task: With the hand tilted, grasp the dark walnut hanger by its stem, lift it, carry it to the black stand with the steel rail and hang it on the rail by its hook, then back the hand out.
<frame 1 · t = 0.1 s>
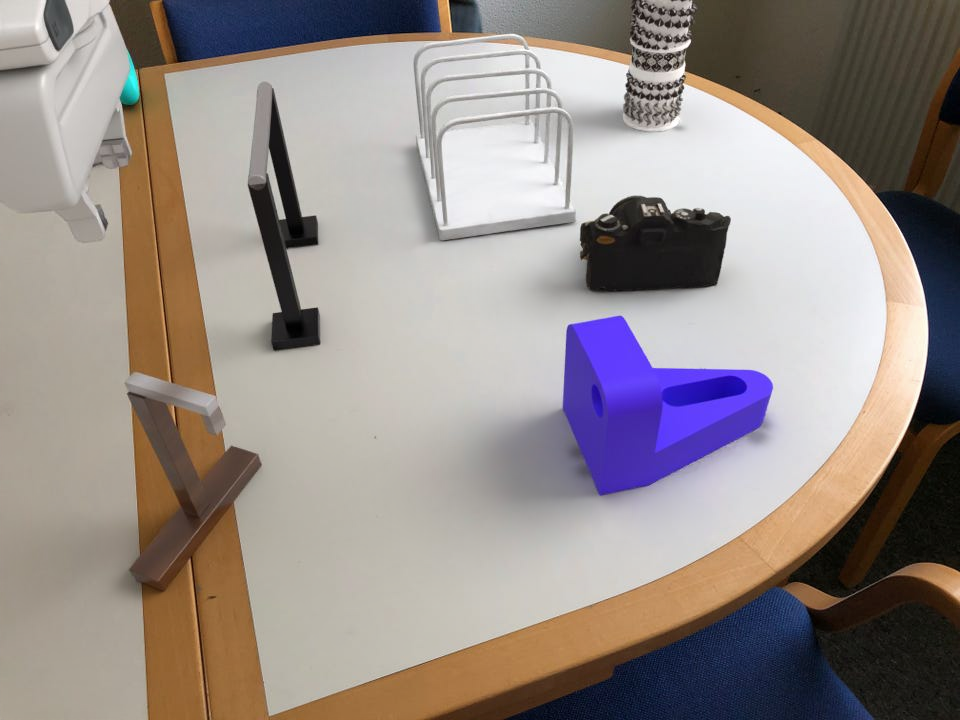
hand: (107, 197, 54), 29 cm above the table, tool pointing down, fingers open, 8 cm apart
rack: (297, 280, 93), on the table
film camera: (641, 269, 93), on the table
file sorter: (490, 183, 108), on the table
decorative candle: (651, 119, 120), on the table
bracket: (671, 432, 74), on the table
vintage mobile phone: (96, 158, 118), on the table
donuts: (110, 106, 131), on the table
hanger: (202, 519, 69), on the table
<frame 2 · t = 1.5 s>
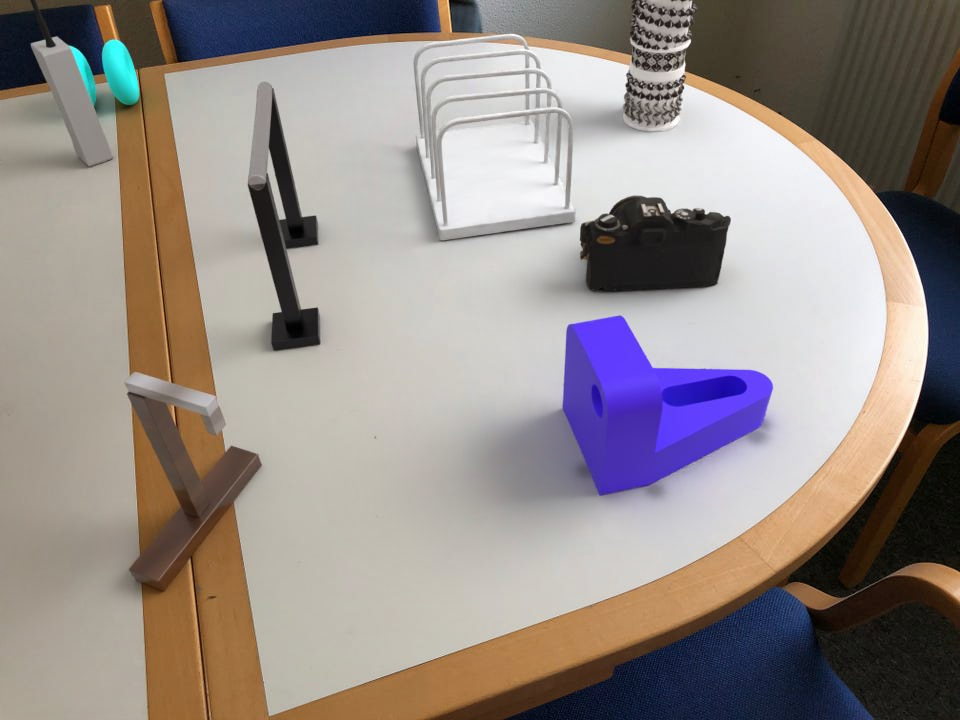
nothing on the table moved.
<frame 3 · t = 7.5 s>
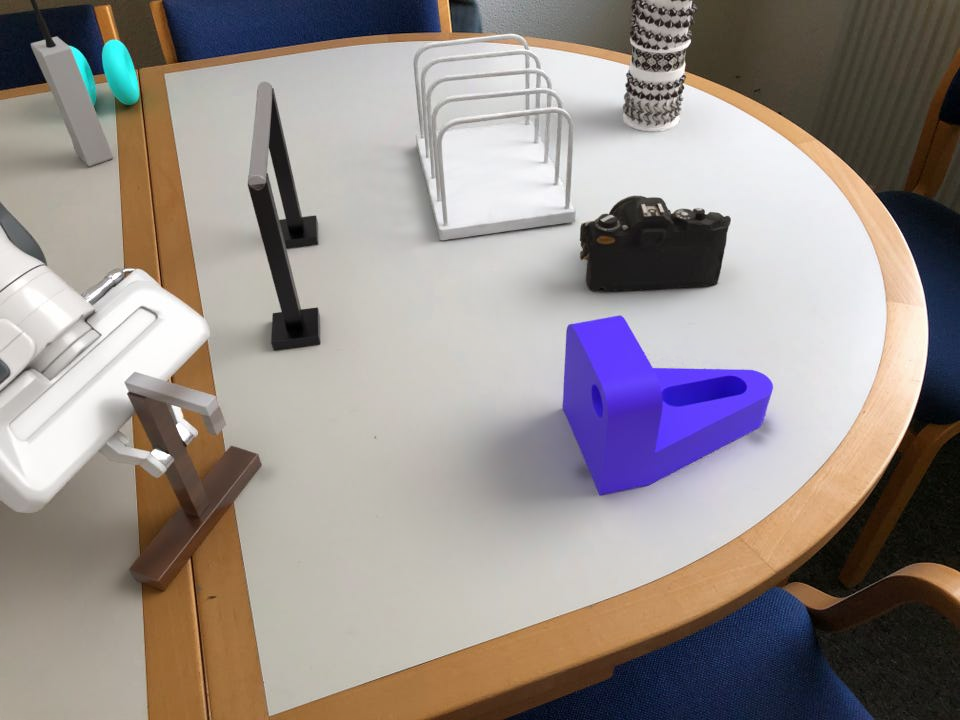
hand: (178, 455, 63), 9 cm above the table, tool tilted 45°, fingers closed on hanger
hanger: (202, 519, 69), on the table, touching gripper
everything else where it was.
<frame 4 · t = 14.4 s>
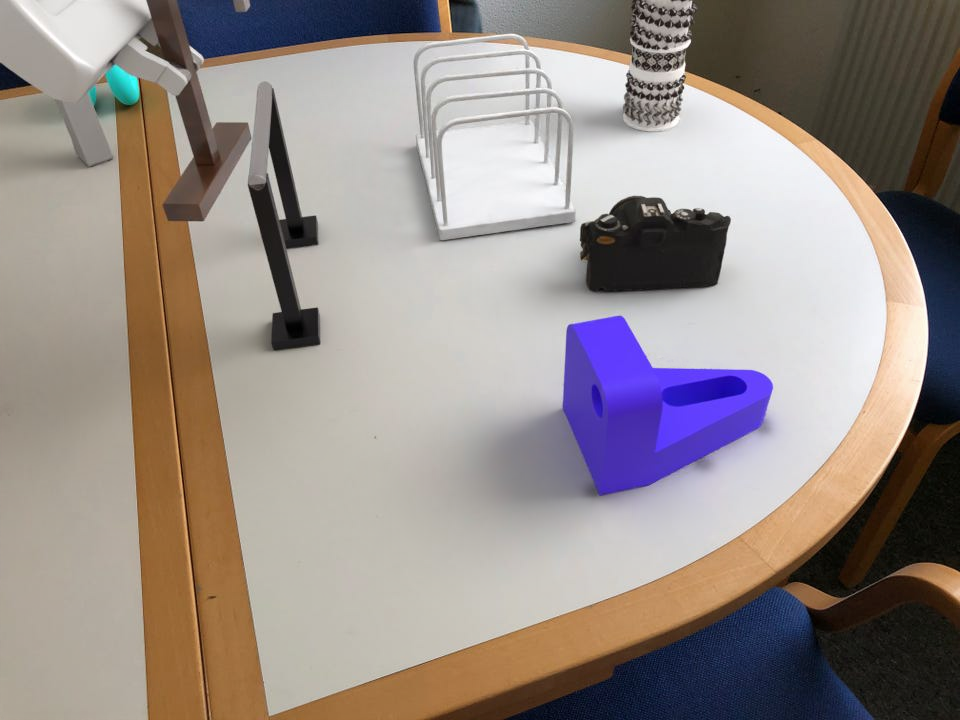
hand: (191, 78, 63), 31 cm above the table, tool tilted 45°, fingers closed on hanger
hanger: (212, 176, 69), point 22 cm above the table, touching gripper
everything else where it was.
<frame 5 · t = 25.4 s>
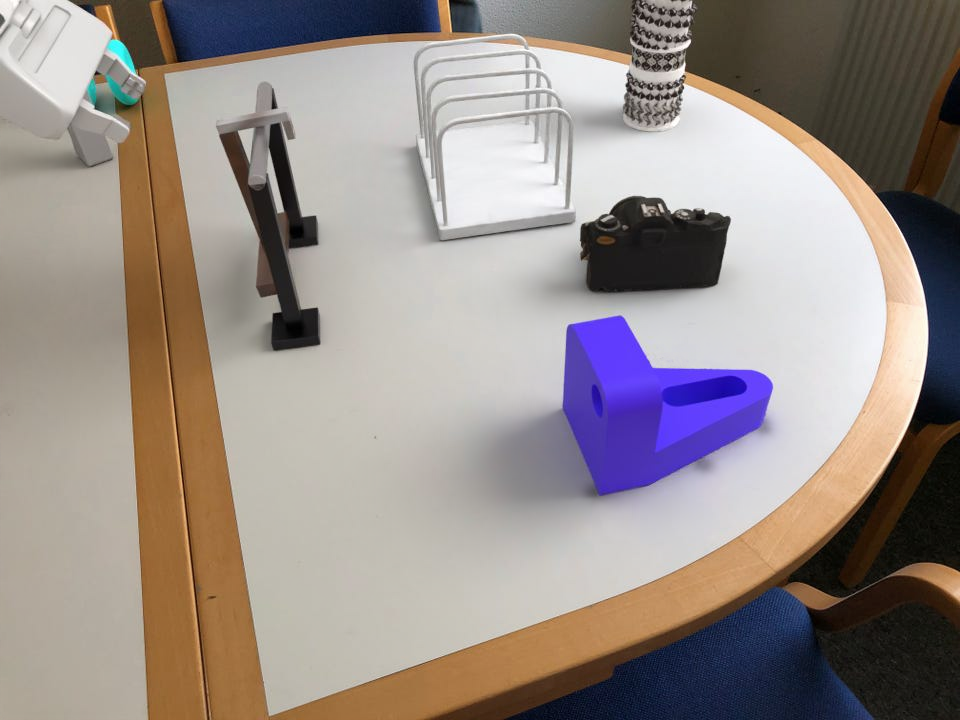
hand: (135, 112, 78), 22 cm above the table, tool tilted 45°, fingers open, 8 cm apart
hanger: (275, 258, 91), point 4 cm above the table, tilted 5°, touching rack
everything else where it was.
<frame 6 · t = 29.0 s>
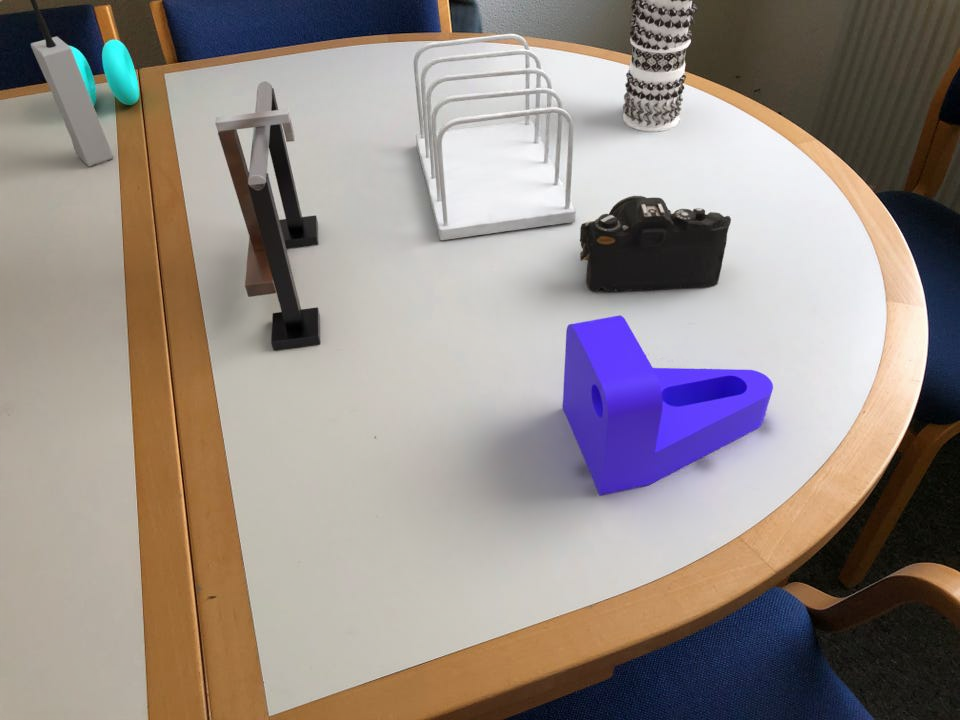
hanger: (264, 258, 91), point 4 cm above the table, touching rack
everything else where it was.
at the end: hanger touching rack; hanger inside the target area on the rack (1.7 cm from its centre), point 3.5 cm above the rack's base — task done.
